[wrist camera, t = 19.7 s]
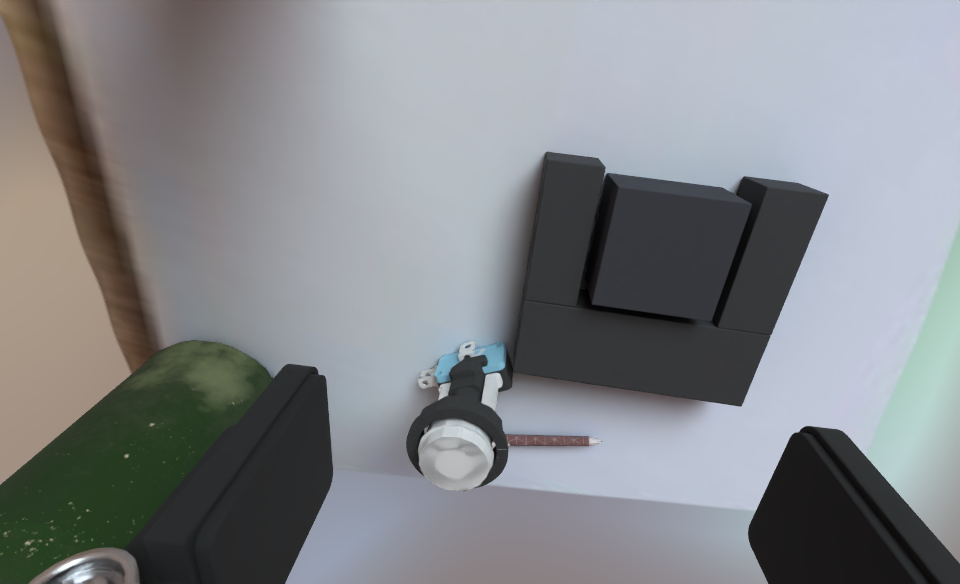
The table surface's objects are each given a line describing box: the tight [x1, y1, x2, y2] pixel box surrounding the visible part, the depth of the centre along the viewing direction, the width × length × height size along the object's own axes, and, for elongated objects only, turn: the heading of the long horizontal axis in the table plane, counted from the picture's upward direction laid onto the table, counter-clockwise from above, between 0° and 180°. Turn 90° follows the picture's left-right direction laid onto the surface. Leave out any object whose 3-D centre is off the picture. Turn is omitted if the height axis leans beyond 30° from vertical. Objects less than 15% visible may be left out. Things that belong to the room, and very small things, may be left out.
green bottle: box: [0, 340, 273, 584], centre depth 24 cm, size 10×10×25 cm
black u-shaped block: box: [513, 152, 829, 406], centre depth 28 cm, size 13×14×3 cm
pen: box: [492, 434, 602, 447], centre depth 34 cm, size 11×1×1 cm, turn 94°
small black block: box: [585, 173, 752, 321], centre depth 26 cm, size 6×6×4 cm
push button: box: [406, 341, 513, 491], centre depth 28 cm, size 7×5×10 cm
